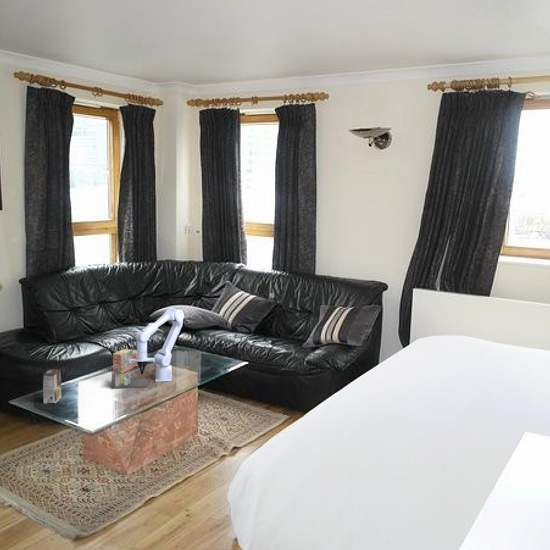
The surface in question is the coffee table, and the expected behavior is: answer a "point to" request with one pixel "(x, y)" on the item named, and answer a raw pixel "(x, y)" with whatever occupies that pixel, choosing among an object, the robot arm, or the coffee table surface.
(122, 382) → the brass block
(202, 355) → the coffee table surface
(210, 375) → the coffee table surface
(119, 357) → the stack of blocks
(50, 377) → the coffee box
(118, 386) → the grey slab
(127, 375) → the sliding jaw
